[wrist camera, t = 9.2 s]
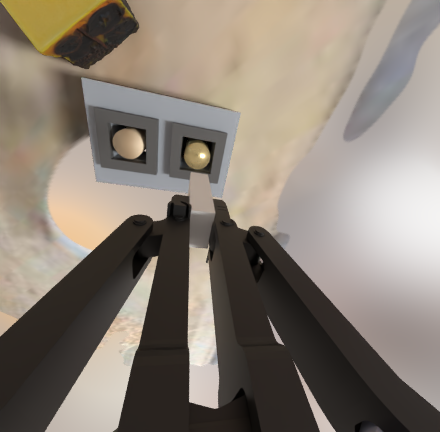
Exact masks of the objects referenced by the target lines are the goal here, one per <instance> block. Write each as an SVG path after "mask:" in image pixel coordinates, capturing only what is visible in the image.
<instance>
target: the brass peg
mask: <svg viewBox="0 0 440 432" xmlns="http://www.w3.org/2000/svg"><path fill="white" fill-rule="evenodd" d="M184 159H185V162H186V163H187V165H188V166H189V167H191V168H193V169H202V168H204V167H205V166H207V164H208V163H209V161H210V152H209V149H208V145H207V142H206V141H205V140H200V139H194V138H189V139H188V140H187V142H186V147H185V152H184Z"/></svg>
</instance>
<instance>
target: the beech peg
mask: <svg viewBox="0 0 440 432" xmlns="http://www.w3.org/2000/svg"><path fill="white" fill-rule="evenodd" d="M113 146H114V148H115V150H116V151H117V153H118V154H119V155H121V156H122V157H124V158H127V159H134V158H137V157H138V156H139V155H140V154H141V153H142V152H143V151H144V150H145V149H146V129H141V128H135V127H130V126H129V127H127V128H125V129H122V130H120V131H118V132H116V133H115V135H114V137H113Z"/></svg>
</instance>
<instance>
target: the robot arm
mask: <svg viewBox="0 0 440 432" xmlns="http://www.w3.org/2000/svg"><path fill="white" fill-rule="evenodd" d="M208 244H209V251H208V256H207V260H206V263H208V260H209V270H210V281H211V292H212V303H213V313H214V324H215V335H216V346H217V357H218V368H219V390H218V407H219V408H217V409H213V408H209V407H205V406H201V405H197V404H194V403H190V402H189V348H188V291H189V247H196V248H208ZM155 256H158V260H157V265H156V270H155V274H154V279H153V284H152V288H151V293H150V298H149V302H148V307H147V312H146V316H145V321H144V325H143V330H142V335H141V339H140V344H139V347H138V349H137V351H136V353H135V356H134V360H133V364H132V368H131V372H130V377H129V381H128V386H127V391H126V395H125V400H124V404H123V408H122V412H121V417H120V421H119V426H118V428H117V429H116V430H115V431H113V432H320V431H319V428H318V425H317V423H316V420H315V418H314V415H313V412H312V410H311V407H310V404H309V402H308V399H307V396H306V394H305V391H304V388H303V386H302V383H301V380H300V378H299V375H298V372H297V370H296V367H295V365H294V363H295V364H296V366H297V368H298V369H299V371H300V373H301V375H302V377H303V378H304V380H305V382H306V384H307V385H308V387H309V389H310V391H311V392H312V394H313V396H314V398H315V399H316V401H317V403H318V405H319V406H320V408H321V409H322V411H323V413H324V414H325V416H326V417H327V419H328V421H329V422H330V424H331V425H332V427H333V428H334V429H335V431H336V432H440V412H439V411H438V410H437V409H436V408H435V407H433V406H432V405H431V404H430V403H428V402H427V401H426V400H425V399H424V398H423V397H421V396H420V395H419V394H418V393H417V392H415V391H414V390H413V389H412V388H411V387H409V386H408V385H407V384H406V383H405V382H403V381H402V380H401V379H400V378H399V377H398V376H397V375H396V374H395V373H394V371H393V370H392V369H391V368H390V367H389V366H388V365H387V364H386V362H385V361H384V360H383V359H382V358H381V357H380V356H379V355H378V353H377V352H376V351H375V350H374V349H373V348H372V347H371V346H370V345H369V344H368V342H367V341H366V340H365V339H364V338H363V337H362V336H361V335H360V333H359V332H358V331H357V330H356V329H355V328H354V327H353V326H352V325H351V323H350V322H349V321H348V320H347V319H346V318H345V317H344V316H343V315H342V313H341V312H340V311H339V310H338V309H337V308H336V307H335V306H334V305H333V303H331V301H330V300H329V299H328V298H327V297H326V296H325V295H324V293H323V292H322V291H321V290H320V289H319V288H318V287H317V286H316V285H315V283H314V282H313V281H312V280H311V279H310V278H309V277H308V276H307V275H306V274H305V272H304V271H303V270H302V269H301V268H300V267H299V266H298V265H297V263H296V262H295V261H294V260H293V259H292V258H291V257H290V256H289V254H287V252H286V251H285V250H284V249H283V248H282V247H281V246H280V244H279V243H278V242H277V241H276V240H275V239H274V238H273V237H272V236H271V234H270V233H269V232H268V231H267V230H265V229H264V228H262V227H259V226H252V227H250V228H249V230H248V231H246V230H243V229H240V228H238V227H237V225H236V223H235V221H233V220H232V219H230V216H229V212H228V209H227V206H226V203H225V202H224V201H223V200H217V199H213V198H212V193H211V188H210V182H209V177H208V175H207V174H201V173H195V172H191V175H190V182H189V190H188V196H182V195H174V196H173V197H172V200H171V201H170V202H169V203H168V209H167V218H166V219H164V220H161V221H154V222H153V220H152V218H150V217H149V216H146V215H134V216H131V217H129V218H128V219H126V221H124V222H123V223H122V224H121V225H120V226H119V227H118V228H117V229H116V230H115V231H114V232H112V233H111V234H110V236H108V237H107V238H106V239H105V240H104V241H103V242H102V243H101V244H100V245H99V246H97V247H96V248H95V249H94V250H93V251H92V252H91V253H90V254H89V255H88V256H87V257H86V258H84V259H83V260H82V261H81V262H80V263H79V264H78V265H77V266H76V267H75V268H74V269H73V270H72V271H70V272H69V273H68V274H67V275H66V276H65V277H64V278H63V279H62V280H61V281H60V282H59V283H58V284H56V285H55V286H54V287H53V288H52V289H51V290H50V291H49V292H48V293H47V294H46V295H45V296H44V297H42V298H41V299H40V300H39V301H38V302H37V303H36V304H35V305H34V306H33V307H32V308H31V309H30V310H28V311H27V312H26V313H25V314H24V315H23V316H22V317H21V318H20V319H19V320H18V321H17V322H16V323H14V324H13V325H12V326H11V327H10V328H9V329H8V330H7V331H6V332H5V333H4V334H3V335H2V336H0V432H45V430H46V429H47V427H48V425H49V424H50V422H51V421H52V419H53V417H54V416H55V414H56V412H57V411H58V409H59V408H60V406H61V404H62V403H63V401H64V400H65V398H66V396H67V395H68V393H69V391H70V390H71V388H72V386H73V385H74V384H75V382H76V380H77V379H78V377H79V375H80V374H81V372H82V371H83V369H84V367H85V366H86V364H87V363H88V361H89V359H90V358H91V356H92V354H93V353H94V351H95V350H96V348H97V346H98V345H99V343H100V342H101V340H102V338H103V337H104V335H105V334H106V332H107V330H108V329H109V327H110V326H111V324H112V322H113V321H114V319H115V317H116V316H117V314H118V313H119V311H120V309H121V308H122V306H123V305H124V303H125V301H126V300H127V298H128V297H129V295H130V293H131V292H132V290H133V288H134V287H135V285H136V284H137V282H138V280H139V279H140V277H141V276H142V274H143V272H144V271H145V269H146V268H147V266H148V264H149V263H150V261H151V259H152V257H155ZM260 258H261V259H262V260H263V263H261V261H260ZM267 315H268V316H267ZM268 317H269V319H270V321H271V322H272V324H273V326H274V328H275V329H276V331H277V333H278V335H279V336H280V338H281V340H282V342H283V343H284V345H285V346H284V345H282V344H279V343H278V342H277V341H276V339H275V337H274V334H273V331H272V328H271V325H270V322H269V320H268ZM293 361H294V362H293Z"/></svg>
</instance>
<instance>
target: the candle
mask: <svg viewBox="0 0 440 432" xmlns="http://www.w3.org/2000/svg"><path fill="white" fill-rule="evenodd" d="M0 2H1V3H2V4H3V6H4V7H5V8H6V10H7V11H8V12H9V14H10V15H11V16H12V18H13V19H14V20H15V22H16V23H17V24H18V26H19V27H20V28H21V30H22V31H23V32H24V34H25V35H26V36H27V37H28V39H29V40H30V41H31V43H32V44H33V45H34V47H35V48H36V49H37V50H38V51H39V52H40V53H41V54H43V55H45V56H54V57H56V58H57V57H63V58H66V59H67V60H68V61H69V62H71V63H72V64H73V65H76V66H79V67H82V68H85V69H89V68H90V65H93V64H95V63H96V62H97V61H99V60H102V58H103V57H104V56H106V55H107V54H109V53H110V52H111V51H112V50H113V49H114V48H117V47H118V45H120V44H121V43H122V41H124V40H125V39H126V38H127V37H128V36H129V35H130V34H132V33H136V32H137V30H138V28H139V24H138V22H137V20H136V19H135V17H134V14H133V13H132V11H131V9H130V7H129V5H128V3H127V1H126V0H0Z"/></svg>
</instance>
